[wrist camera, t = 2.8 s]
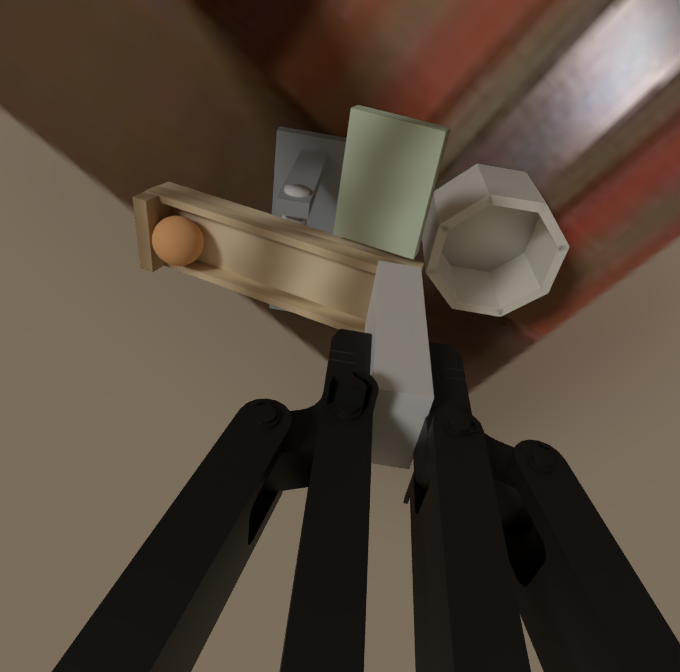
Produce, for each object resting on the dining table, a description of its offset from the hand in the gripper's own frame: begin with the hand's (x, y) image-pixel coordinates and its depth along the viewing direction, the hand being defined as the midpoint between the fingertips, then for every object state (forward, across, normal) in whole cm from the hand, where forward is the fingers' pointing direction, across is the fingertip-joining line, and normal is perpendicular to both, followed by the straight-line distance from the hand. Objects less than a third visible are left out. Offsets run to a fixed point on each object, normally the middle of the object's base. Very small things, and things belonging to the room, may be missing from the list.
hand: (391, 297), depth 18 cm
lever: (+14, +6, +3) cm, 15 cm away
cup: (+25, -9, +6) cm, 27 cm away
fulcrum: (+25, +5, +6) cm, 26 cm away
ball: (+13, +13, +7) cm, 20 cm away
